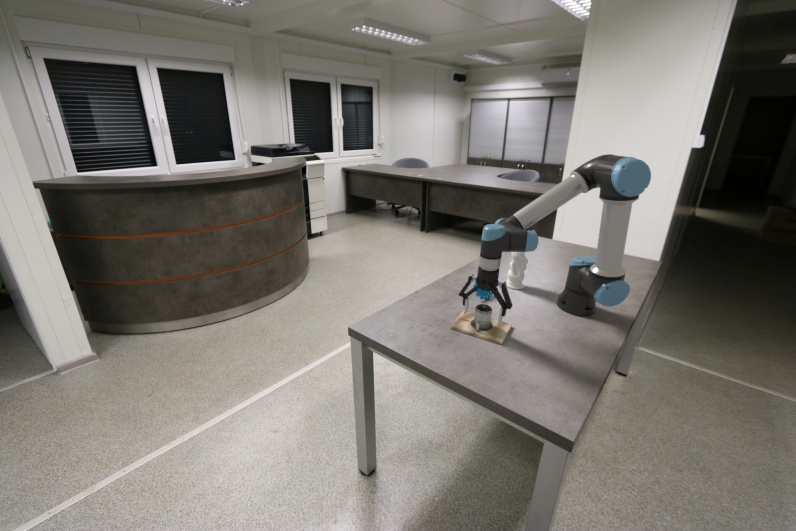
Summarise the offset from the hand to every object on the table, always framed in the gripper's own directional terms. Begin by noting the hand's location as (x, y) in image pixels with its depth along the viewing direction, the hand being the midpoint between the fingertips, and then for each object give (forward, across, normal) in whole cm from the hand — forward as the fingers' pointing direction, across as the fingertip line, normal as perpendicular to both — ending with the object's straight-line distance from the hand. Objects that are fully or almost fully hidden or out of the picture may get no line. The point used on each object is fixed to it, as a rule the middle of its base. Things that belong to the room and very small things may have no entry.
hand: (482, 317), depth 135 cm
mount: (+4, 0, 0) cm, 4 cm away
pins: (+3, 0, 0) cm, 3 cm away
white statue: (+5, 0, -46) cm, 46 cm away
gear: (+5, +8, -26) cm, 27 cm away
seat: (+3, 0, 0) cm, 3 cm away
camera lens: (+3, 0, 0) cm, 3 cm away
